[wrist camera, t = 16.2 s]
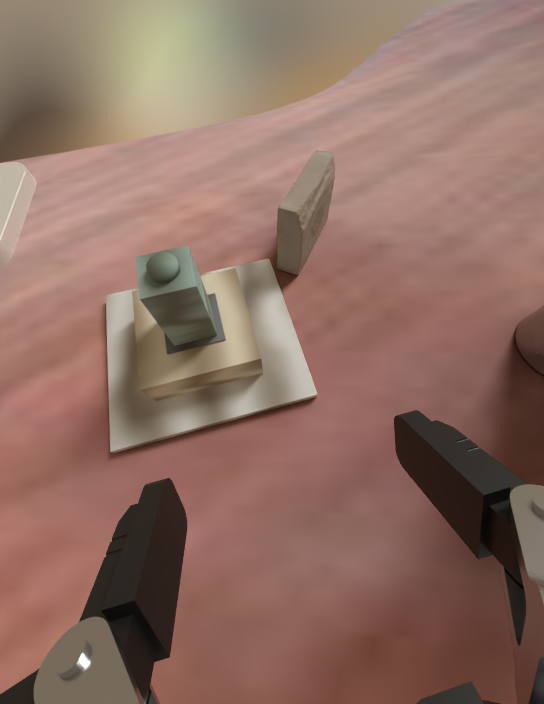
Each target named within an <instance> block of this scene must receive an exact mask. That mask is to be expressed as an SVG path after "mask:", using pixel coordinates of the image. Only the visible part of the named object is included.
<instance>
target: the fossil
mask: <svg viewBox="0 0 544 704" xmlns="http://www.w3.org/2000/svg"><path fill="white" fill-rule="evenodd" d="M334 174H335V164H334V155H333V153H330V152H324V151H315V152H314V153H313V155H312V156H311V158H310V159H309V161H308V163H307V164H306V166H305V167H304V169H303V171H302V172H301V174H300V176H299V178H298V179H297V181H296V182H295V183H294V185H293V187H292V188H291V190H290V191H289V193H288V194H287V196H286V197H285V198H284V200H283V202H282V203H281V205H280V206H279V208H278V220H277V250H278V256H277V264H276V268H277V269H278V270H281V271H285V272H288V273H291V274H295V275H299V273H300V271H301V269H302V268H303V266H304V264H305V262H306V260H307V258H308V256H309V254H310V252H311V250H312V249H313V247H314V244H315V243H316V240H317V238H318V236H319V235H320V232H321V231H322V229H323V226H324V225H325V222H326V221H327V218H328V211H329V206H330V202H331V195H332V190H333V183H334V178H335V175H334Z"/></svg>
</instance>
